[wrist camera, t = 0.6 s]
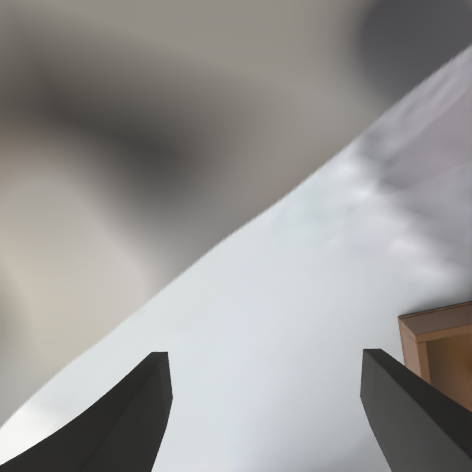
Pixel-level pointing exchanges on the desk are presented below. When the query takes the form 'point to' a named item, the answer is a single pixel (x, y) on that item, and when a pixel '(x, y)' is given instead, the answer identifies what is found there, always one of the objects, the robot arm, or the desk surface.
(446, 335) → the tray
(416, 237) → the desk surface
